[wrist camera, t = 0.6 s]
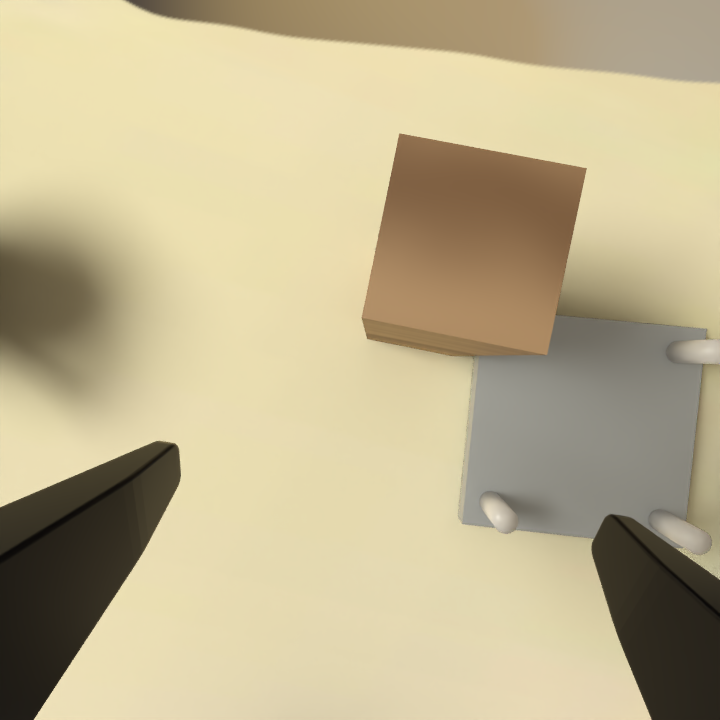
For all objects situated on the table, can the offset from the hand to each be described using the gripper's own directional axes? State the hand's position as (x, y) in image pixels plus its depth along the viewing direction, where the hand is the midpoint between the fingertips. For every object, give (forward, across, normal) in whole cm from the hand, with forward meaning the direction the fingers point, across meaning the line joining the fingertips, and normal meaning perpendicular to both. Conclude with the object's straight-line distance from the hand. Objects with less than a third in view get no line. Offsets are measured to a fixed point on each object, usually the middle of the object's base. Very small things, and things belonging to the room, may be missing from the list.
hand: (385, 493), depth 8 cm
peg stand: (+14, -11, +5) cm, 18 cm away
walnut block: (+16, -1, 0) cm, 16 cm away
